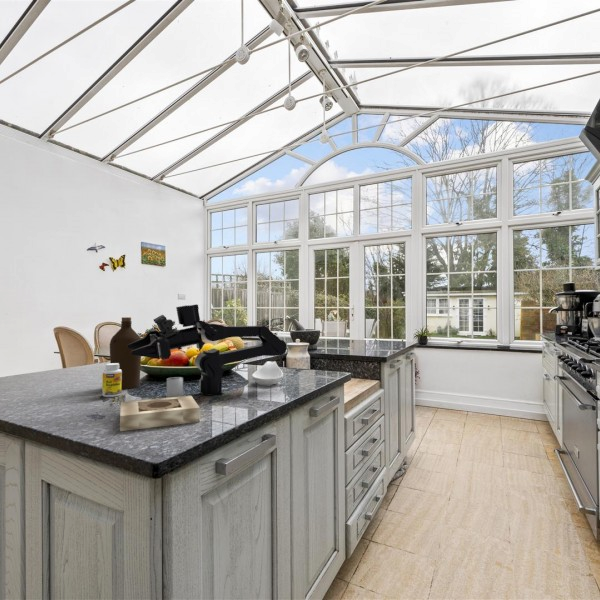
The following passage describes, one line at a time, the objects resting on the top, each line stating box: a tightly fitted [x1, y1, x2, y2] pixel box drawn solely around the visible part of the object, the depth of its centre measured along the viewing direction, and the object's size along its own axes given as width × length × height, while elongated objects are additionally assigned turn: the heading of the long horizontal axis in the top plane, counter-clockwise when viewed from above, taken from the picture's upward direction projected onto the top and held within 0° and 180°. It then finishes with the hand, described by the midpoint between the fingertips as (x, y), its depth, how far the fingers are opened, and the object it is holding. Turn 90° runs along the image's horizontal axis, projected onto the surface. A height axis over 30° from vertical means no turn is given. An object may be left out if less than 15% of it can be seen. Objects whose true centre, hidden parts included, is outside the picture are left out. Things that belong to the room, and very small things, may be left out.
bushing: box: [166, 376, 184, 398], centre depth 108 cm, size 4×4×8 cm
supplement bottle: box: [101, 362, 122, 398], centre depth 121 cm, size 6×6×10 cm
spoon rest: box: [251, 361, 284, 386], centre depth 146 cm, size 24×12×7 cm, turn 179°
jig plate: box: [119, 395, 201, 432], centre depth 96 cm, size 18×14×4 cm
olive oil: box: [109, 316, 142, 390], centre depth 134 cm, size 11×11×25 cm
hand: (129, 349), depth 112 cm, fingers open, 9 cm apart
